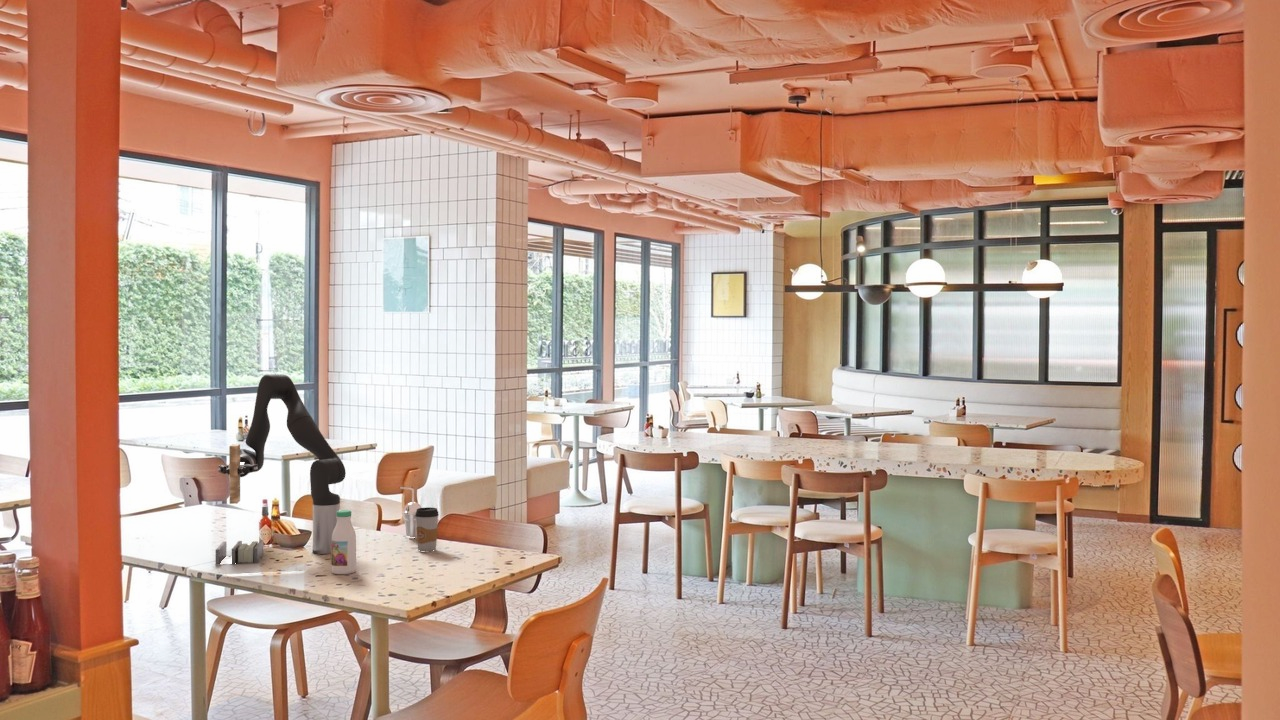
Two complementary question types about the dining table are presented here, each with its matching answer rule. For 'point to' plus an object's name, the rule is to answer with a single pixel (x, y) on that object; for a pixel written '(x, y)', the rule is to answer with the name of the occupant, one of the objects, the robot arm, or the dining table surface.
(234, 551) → the sheet rack
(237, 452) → the oak block
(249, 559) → the pale green grooved block
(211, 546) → the dining table surface
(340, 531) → the milk bottle
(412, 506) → the cup with straw
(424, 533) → the coffee cup
